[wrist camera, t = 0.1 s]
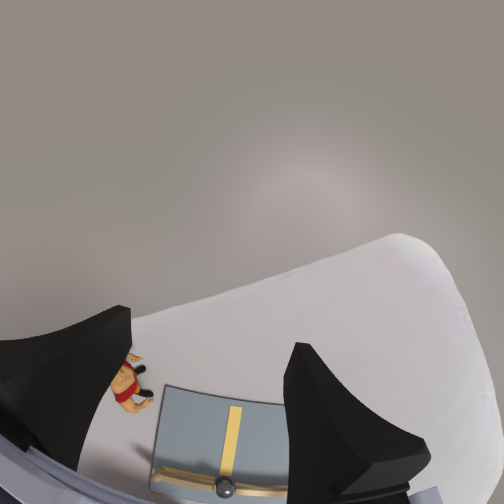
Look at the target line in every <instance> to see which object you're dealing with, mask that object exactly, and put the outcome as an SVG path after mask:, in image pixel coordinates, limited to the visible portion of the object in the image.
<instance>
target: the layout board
mask: <svg viewBox="0 0 504 504" xmlns="http://www.w3.org/2000/svg"><path fill="white" fill-rule="evenodd" d="M160 467H162V468H164V469H165V470H169V471H173V472H178V473H182V474H187V475H191V476H197V477H202V478H208V479H214V491H213V492H212V491H206V490H200V489H195V488H190V487H185V486H180V485H176V484H172V483H168V482H164V481H160V482H154V481H153V480H152V479H151V484H150V491H154V492H157V493H161V494H165V495H169V496H173V497H177V498H182V499H187V500H192V501H197V502H203V503H209V504H286V502H287V497H263V496H247V495H236V494H235V492H234V494H233V495H232V496H231V497H230V498H227V499H224V498H220V497H219V496H218V495H217V494H216V481H217V479H218V478H220V477H227V478H229V479H230V480H231V481H232V485H233V490H234V482H237V483H247V484H261V485H288V475H289V437H288V429H287V421H286V413H285V406H280V405H270V404H261V403H252V402H245V401H238V400H231V399H225V398H219V397H214V396H208V395H203V394H198V393H193V392H189V391H184V390H180V389H176V388H172V387H168V386H166V390H165V396H164V401H163V406H162V412H161V417H160V423H159V429H158V435H157V442H156V448H155V455H154V462H153V469H152V475H153V473H154V472H155V471H156V470H157V469H158V468H160Z"/></svg>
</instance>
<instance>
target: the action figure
mask: <svg viewBox="0 0 504 504" xmlns="http://www.w3.org/2000/svg"><path fill="white" fill-rule="evenodd" d="M127 358H131V360H132V362H133V359H134V361H135V362H136V360H137V361H140V360H142V358H141V357H138V356H136V355H134V354H131V353H128V355H127ZM139 359H140V360H139ZM145 370H146V367H145V366H140V367H139V368H137V369H136V370H135V371H134V369H133V367H132V366H131V364H129V363H128V362H127V361H125V362H124V363H123V365H122V367H121V368H120V370H119V371H118V373H117V375H116V376H115V378H114V379H113V381H112V383H111V384H110V387H111V389H112V391H113V393H114V396H115V399H116V401H117V402H118V403H119V404H120V405H121V406H122V408H123V409H125V411H127V412H130V413H137V412H139V411H140V410H141V409H142V408H146V407H147V406H148V405H149V403H151V402H152V401H153V400H154V399H153V398H152V399H151V400H150V398H151V397H153V395H154V394H153V393H152V392H150V391H141V390H140V386H139V384H138V383H137V378H136V376H137V375H138V374H140V373H143V372H145ZM133 394H136V395H139V396H143V397H147V399H146V400H144V401H143V402H142V403H140V404H137V403H134V400H133V398H132V397H131V396H132V395H133Z"/></svg>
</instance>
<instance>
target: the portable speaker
mask: <svg viewBox="0 0 504 504" xmlns="http://www.w3.org/2000/svg"><path fill="white" fill-rule="evenodd" d="M0 504H22V503H21V502H20V501H18V500H17V499H16V498H14V497H13V496H12V495H11V494H9V493H8V492H7V491H6V490H4V489H3V488H2V487H1V486H0Z"/></svg>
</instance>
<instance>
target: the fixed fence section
mask: <svg viewBox="0 0 504 504" xmlns="http://www.w3.org/2000/svg"><path fill="white" fill-rule="evenodd" d="M151 479H152V480H153V481H154V482H160V481H164V482H168V483H172V484H176V485H180V486H185V487H190V488H195V489H200V490H206V491H212V492H213V491H214V479H208V478H202V477H197V476H191V475H187V474H182V473H178V472H173V471H169V470H165V469H164V468H162V467H160V468H158V469H157V470H156V471H155V472H154V473H153V475H152V476H151Z"/></svg>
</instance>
